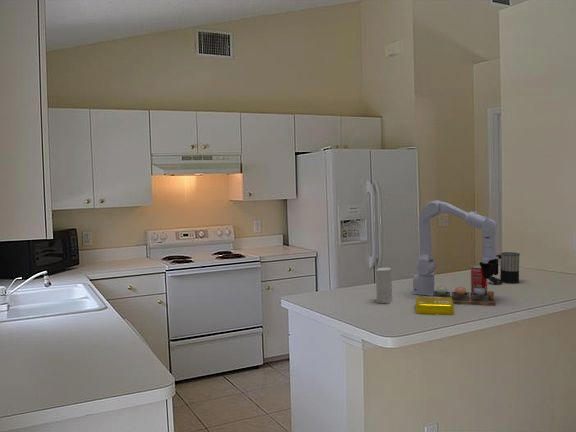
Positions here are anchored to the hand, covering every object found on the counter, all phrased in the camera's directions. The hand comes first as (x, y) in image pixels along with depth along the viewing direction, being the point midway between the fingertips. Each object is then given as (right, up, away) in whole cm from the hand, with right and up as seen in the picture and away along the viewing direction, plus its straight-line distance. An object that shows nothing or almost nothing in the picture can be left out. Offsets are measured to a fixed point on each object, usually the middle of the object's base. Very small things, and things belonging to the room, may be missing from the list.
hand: (488, 277), depth 250 cm
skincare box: (-46, -11, +2) cm, 47 cm away
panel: (-13, -11, -2) cm, 17 cm away
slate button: (-5, -8, -4) cm, 10 cm away
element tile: (-28, -13, -15) cm, 34 cm away
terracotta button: (-13, -8, -2) cm, 15 cm away
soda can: (0, -9, +12) cm, 15 cm away
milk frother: (+20, -7, +36) cm, 42 cm away
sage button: (-21, -8, 0) cm, 22 cm away
